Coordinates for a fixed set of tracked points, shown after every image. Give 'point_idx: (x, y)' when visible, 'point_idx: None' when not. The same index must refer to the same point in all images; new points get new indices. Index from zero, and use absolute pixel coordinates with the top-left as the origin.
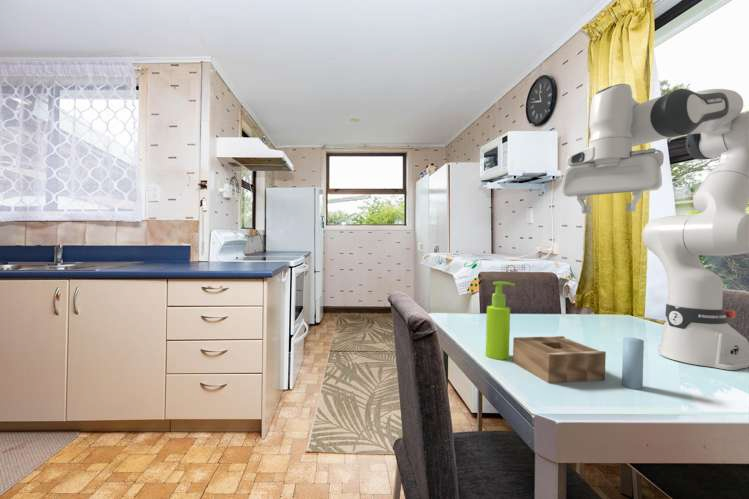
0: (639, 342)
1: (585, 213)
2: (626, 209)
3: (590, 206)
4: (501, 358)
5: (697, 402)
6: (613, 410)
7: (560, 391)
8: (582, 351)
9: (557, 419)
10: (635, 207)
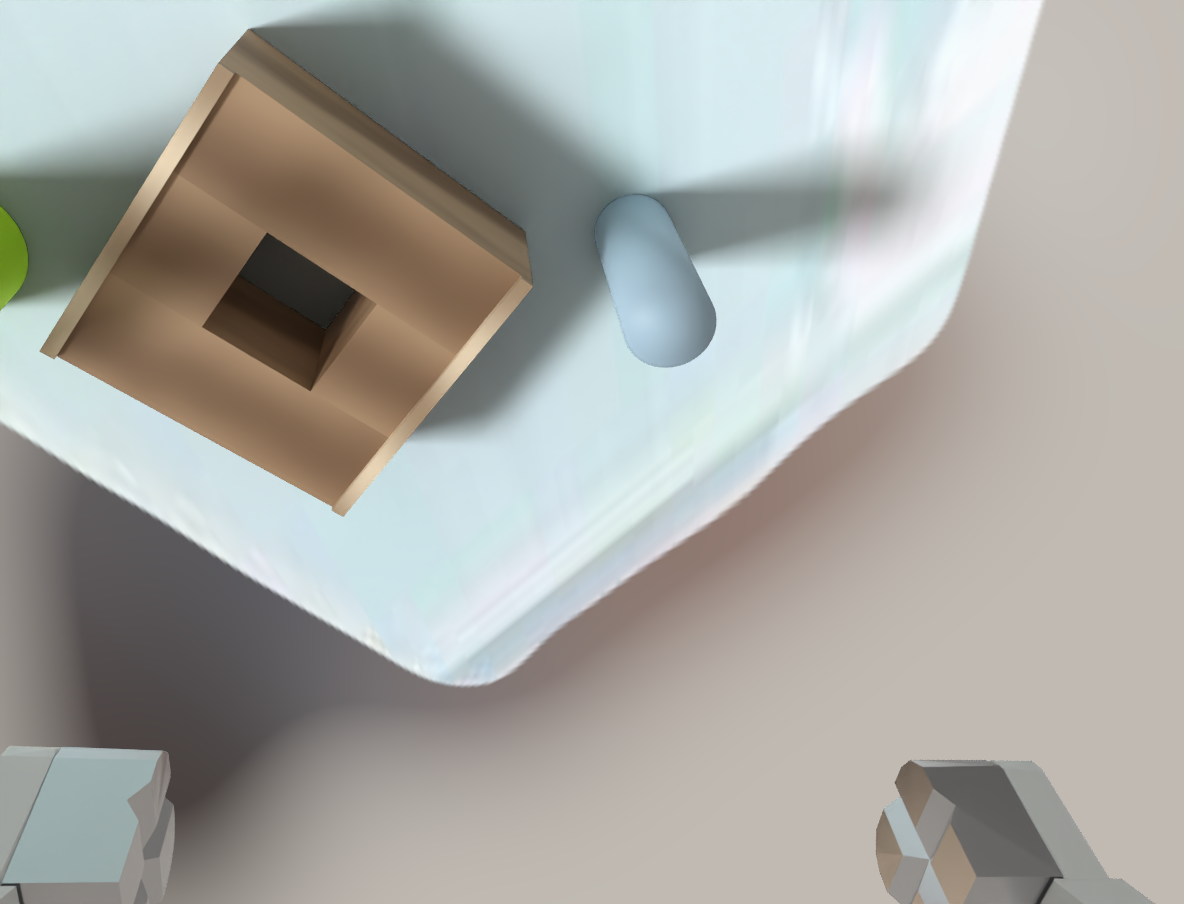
0: (697, 354)
1: (66, 757)
2: (885, 872)
3: (118, 884)
4: (15, 293)
5: (850, 244)
6: (604, 524)
7: (424, 491)
8: (434, 338)
9: (491, 678)
10: (1058, 821)
